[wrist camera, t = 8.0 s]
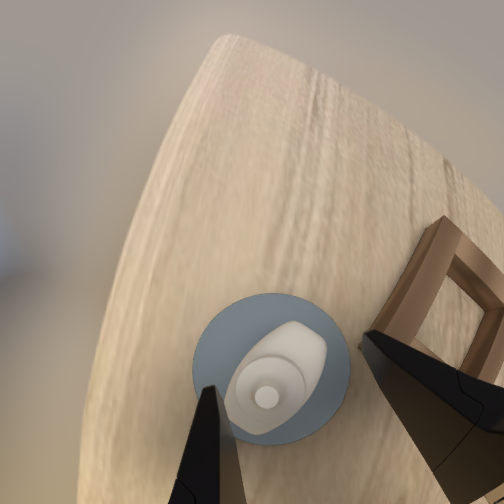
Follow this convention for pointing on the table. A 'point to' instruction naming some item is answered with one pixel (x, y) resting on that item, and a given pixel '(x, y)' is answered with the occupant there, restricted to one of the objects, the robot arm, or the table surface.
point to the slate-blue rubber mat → (248, 335)
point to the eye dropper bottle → (275, 378)
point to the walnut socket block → (428, 284)
